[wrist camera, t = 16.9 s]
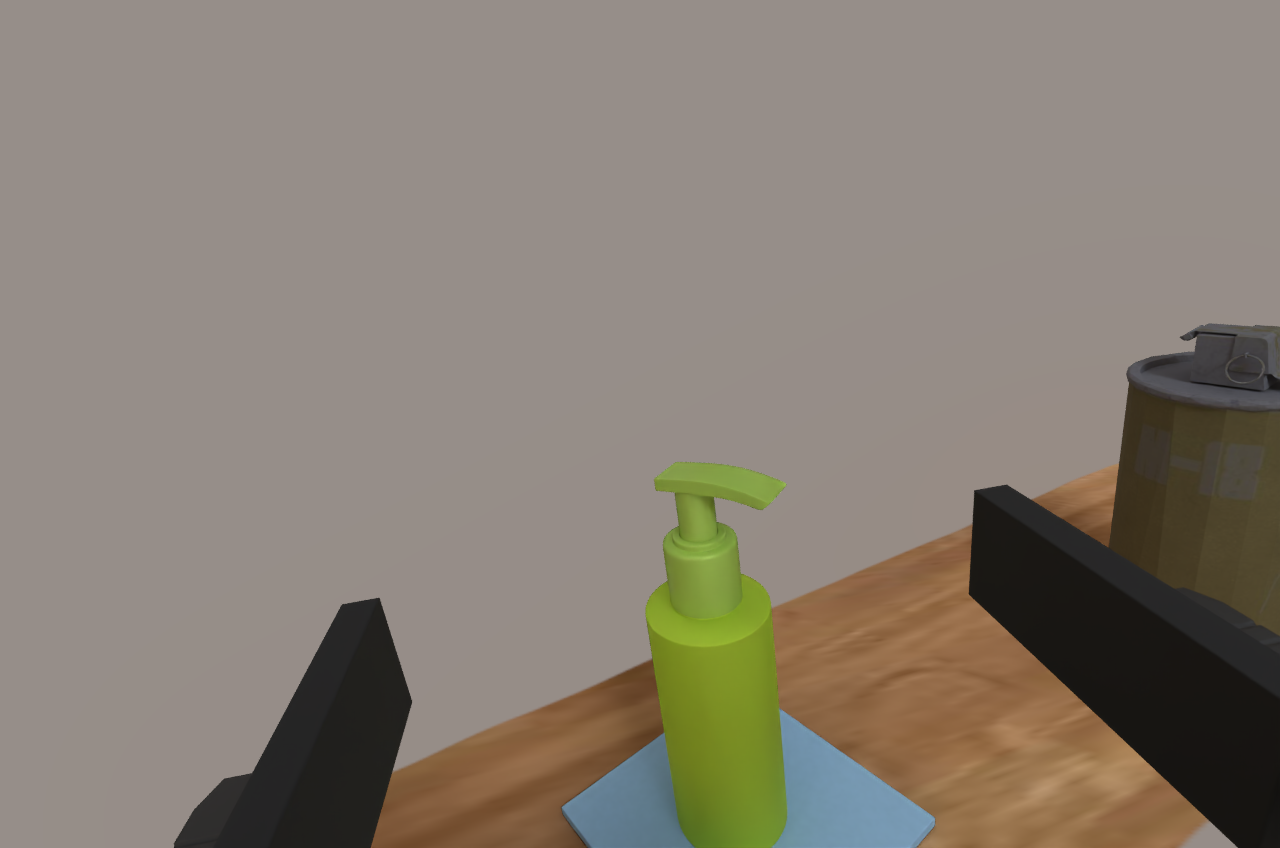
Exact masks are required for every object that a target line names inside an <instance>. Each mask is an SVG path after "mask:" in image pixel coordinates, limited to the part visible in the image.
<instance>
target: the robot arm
mask: <svg viewBox="0 0 1280 848" xmlns="http://www.w3.org/2000/svg"><path fill="white" fill-rule="evenodd" d="M969 595H970V596H971V597H972V598H973V599H974V600H975V601H976V602H978V603H979V604H980V605H981V606H982V607H983V608H984V609H985V610H986V611H987V612H988V613H989V614H990V615H991V616H992V617H993V618H995V619H996V620H997V621H998V622H999V623H1000V624H1001V625H1002V626H1003V627H1004V628H1005V629H1006V630H1007V631H1008V632H1009V633H1010V634H1012V635H1013V636H1014V637H1015V638H1016V639H1017V640H1018V641H1019V642H1020V643H1021V644H1022V645H1023V646H1024V647H1025V648H1026V649H1027V650H1029V651H1030V652H1031V653H1032V654H1033V655H1034V656H1035V657H1036V658H1037V659H1038V660H1039V661H1040V662H1041V663H1042V664H1043V665H1044V666H1046V667H1047V668H1048V669H1049V670H1050V671H1051V672H1052V673H1053V674H1054V675H1055V676H1056V677H1057V678H1058V679H1059V680H1060V681H1061V682H1062V683H1064V684H1065V685H1066V686H1067V687H1068V688H1069V689H1070V690H1071V691H1072V692H1073V693H1074V694H1075V695H1076V696H1077V697H1078V698H1079V699H1081V700H1082V701H1083V702H1084V703H1085V704H1086V705H1087V706H1088V707H1089V708H1090V709H1091V710H1092V711H1093V712H1094V713H1095V714H1096V715H1098V716H1099V717H1100V718H1101V719H1102V720H1103V721H1104V722H1105V723H1106V724H1107V725H1108V726H1109V727H1110V728H1111V729H1112V730H1113V731H1115V732H1116V733H1117V734H1118V735H1119V736H1120V737H1121V738H1122V739H1123V740H1124V741H1125V742H1126V743H1127V744H1128V745H1129V746H1130V747H1132V748H1133V749H1134V750H1135V751H1136V752H1137V753H1138V754H1139V755H1140V756H1141V757H1142V758H1143V759H1144V760H1145V761H1146V762H1147V763H1149V764H1150V765H1151V766H1152V767H1153V768H1154V769H1155V770H1156V771H1157V772H1158V773H1159V774H1160V775H1161V776H1162V777H1163V778H1164V779H1166V780H1167V781H1168V782H1169V783H1170V784H1171V785H1172V786H1173V787H1174V788H1175V789H1176V790H1177V791H1178V792H1179V793H1180V794H1181V795H1183V796H1184V797H1185V798H1186V799H1187V800H1188V801H1189V802H1190V803H1191V804H1192V805H1193V806H1194V807H1195V808H1196V809H1197V810H1198V811H1199V812H1201V813H1202V814H1203V815H1204V816H1205V817H1206V818H1207V819H1208V820H1209V821H1210V822H1211V823H1212V824H1213V825H1215V827H1217V828H1218V829H1219V830H1220V831H1221V832H1222V833H1223V834H1224V835H1225V836H1226V837H1227V838H1228V839H1229V840H1230V841H1231V842H1233V843H1234V844H1235V845H1236V846H1237V847H1238V848H1280V636H1279V635H1277V634H1275V633H1274V632H1272V631H1270V630H1269V629H1267V628H1265V627H1264V626H1262V625H1258V626H1257V625H1256V624H1255V622H1254V621H1253V620H1252V619H1250V618H1248V617H1247V616H1245V615H1243V614H1242V613H1240V612H1238V611H1237V610H1235V609H1233V608H1232V607H1230V606H1228V605H1227V604H1225V603H1223V602H1221V601H1219V600H1216V599H1213V598H1211V597H1208V596H1206V595H1203V594H1200V593H1198V592H1195V591H1192V590H1190V589H1187V588H1184V587H1182V588H1177V589H1174V588H1172V587H1171V586H1169V585H1168V584H1166V583H1164V582H1163V581H1161V580H1159V579H1158V578H1156V577H1155V576H1153V575H1151V574H1150V573H1148V572H1147V571H1145V570H1143V569H1142V568H1140V567H1138V566H1137V565H1135V564H1134V563H1132V562H1130V561H1129V560H1127V559H1126V558H1124V557H1122V556H1121V555H1119V554H1118V553H1116V552H1114V551H1113V550H1111V549H1109V548H1108V547H1106V546H1105V545H1103V544H1101V543H1100V542H1098V541H1097V540H1095V539H1093V538H1092V537H1090V536H1089V535H1087V534H1085V533H1084V532H1082V531H1080V530H1079V529H1077V528H1076V527H1074V526H1072V525H1071V524H1069V523H1068V522H1066V521H1064V520H1063V519H1061V518H1060V517H1058V516H1056V515H1055V514H1053V513H1051V512H1050V511H1048V510H1047V509H1045V508H1043V507H1042V506H1040V505H1039V504H1037V503H1035V502H1034V501H1032V500H1031V499H1029V498H1027V497H1026V496H1024V495H1022V494H1021V493H1019V492H1018V491H1016V490H1014V489H1013V488H1011V487H1009V486H1008V485H1002V486H997V487H991V488H986V489H980V490H975V491H974V508H973V527H972V545H971V563H970V582H969ZM411 704H412V700H411V696H410V693H409V690H408V687H407V684H406V681H405V677H404V674H403V671H402V668H401V665H400V662H399V658H398V655H397V652H396V649H395V646H394V643H393V639H392V636H391V633H390V630H389V627H388V624H387V620H386V617H385V614H384V611H383V608H382V605H381V602H380V598H376V599H370V600H364V601H359V602H353V603H348V604H342V606H341V607H340V609H339V611H338V613H337V615H336V617H335V619H334V620H333V622H332V624H331V626H330V628H329V630H328V632H327V634H326V635H325V637H324V639H323V641H322V643H321V645H320V647H319V649H318V651H317V652H316V654H315V656H314V658H313V660H312V662H311V664H310V666H309V667H308V669H307V671H306V673H305V675H304V677H303V679H302V681H301V683H300V684H299V686H298V688H297V690H296V692H295V694H294V696H293V698H292V699H291V701H290V703H289V705H288V707H287V709H286V711H285V713H284V715H283V717H282V718H281V720H280V722H279V724H278V726H277V728H276V730H275V732H274V733H273V735H272V737H271V739H270V741H269V743H268V745H267V747H266V748H265V750H264V752H263V754H262V756H261V758H260V760H259V762H258V764H257V765H256V767H255V769H254V771H253V773H251V774H246V775H241V776H236V777H231V778H226V779H224V780H223V781H222V782H221V783H220V784H219V785H218V786H217V787H216V788H215V789H214V790H213V791H212V792H211V793H210V794H209V795H208V796H207V797H206V798H205V799H204V800H203V801H202V802H201V803H200V804H199V805H198V806H197V808H195V809H194V811H193V812H192V814H191V816H190V818H189V819H188V821H187V822H186V824H185V826H184V828H183V829H182V831H181V833H180V834H179V836H178V838H177V839H176V841H175V843H174V848H371V844H372V841H373V837H374V834H375V830H376V827H377V823H378V820H379V816H380V813H381V809H382V806H383V802H384V799H385V795H386V792H387V788H388V785H389V781H390V778H391V774H392V771H393V767H394V764H395V760H396V757H397V753H398V750H399V746H400V743H401V739H402V736H403V732H404V729H405V725H406V721H407V718H408V714H409V711H410V708H411Z"/></svg>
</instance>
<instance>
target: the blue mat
mask: <svg viewBox="0 0 1280 848" xmlns="http://www.w3.org/2000/svg"><path fill="white" fill-rule="evenodd" d="M779 711H780V724H781V736H782V749H783V761H784V774H785V786H786V799H787V821H786V825H785V828H784V831H783V833H782V835H781V836H780V838H779V839H778V841H777V842H776V843H775V844H774V845H773V846H772V847H771V848H916V847H917V846H918V845H919V844H920V842H921V841H922V840H923V839H924V838H925V837H926V835H927V834H928V833H929V832H930V831H931V830H932V828H933V827H934V826H935V818H934V817H933V816H932V815H930V814H929V813H928V812H926V811H925V810H923V809H922V808H920V807H919V806H918V805H916V804H915V803H913V802H912V801H910V800H909V799H908V798H906V797H905V796H903V795H902V794H900V793H899V792H898V791H896V790H895V789H893V788H892V787H891V786H889V785H888V784H886V783H885V782H883V781H882V780H881V779H879V778H878V777H876V776H875V775H873V774H872V773H871V772H869V771H868V770H866V769H865V768H864V767H862V766H861V765H859V764H858V763H856V762H855V761H854V760H852V759H851V758H849V757H848V756H846V755H845V754H844V753H842V752H841V751H839V750H838V749H837V748H835V747H834V746H832V745H831V744H829V743H828V742H827V741H825V740H824V739H822V738H821V737H819V736H818V735H817V734H815V733H814V732H812V731H811V730H809V729H808V728H807V727H805V726H804V725H802V724H801V723H800V722H798V721H797V720H795V719H794V718H792V717H791V716H790V715H788V714H787V713H785V712H784V711H782V710H781V709H780V708H779ZM562 813H563V815H564V817H565V818H566V819H567V821H568V822H569V823H570V825H571V826H572V827H573V829H574V830H575V831H576V833H577V834H578V835H579V837H580V838H581V839H582V841H583V842H584V843H585V845H586V846H587V847H588V848H696V847H694V846H693V845H692V844H691V843H690V842H689V840H688V839H687V838H686V836H685V835H684V833H683V831H682V829H681V827H680V824H679V821H678V816H677V810H676V803H675V797H674V791H673V784H672V778H671V772H670V766H669V759H668V753H667V747H666V740H665V734H664V733H663V734H662V735H660V736H659V737H657V738H656V739H655V740H653V741H652V742H651V743H649V744H648V745H646V746H645V747H644V748H642V749H641V750H640V751H638V752H637V753H635V754H634V755H633V756H631V757H630V758H629V759H627V760H626V761H624V762H623V763H622V764H620V765H619V766H617V767H616V768H615V769H613V770H612V771H611V772H609V773H608V774H606V775H605V776H604V777H602V778H601V779H600V780H598V781H597V782H595V783H594V784H593V785H591V786H590V787H589V788H587V789H586V790H584V791H583V792H582V793H580V794H579V795H577V796H576V797H575V798H573V799H572V800H571V801H569V802H568V803H566V804H565V805H564V806H562Z"/></svg>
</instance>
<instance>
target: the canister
mask: <svg viewBox="0 0 1280 848" xmlns="http://www.w3.org/2000/svg"><path fill="white" fill-rule="evenodd" d="M1196 336H1197V340H1196V346H1195V352H1184V353H1176V354H1169V355H1161V356H1153V357H1149V358H1146V359H1144V360H1141V361H1138V362H1136V363H1134V364H1132V365H1131V366H1130V367H1129V368H1128V370H1127V379H1128V381H1129V388H1128V396H1127V405H1126V412H1125V421H1124V429H1123V437H1122V446H1121V454H1120V461H1119V469H1118V477H1117V486H1116V494H1115V502H1114V510H1113V518H1112V526H1111V535H1110V543H1109V549H1111V550H1113V551H1114V552H1116V553H1118V554H1119V555H1121V556H1122V557H1124V558H1126V559H1127V560H1129V561H1130V562H1132V563H1134V564H1135V565H1137V566H1138V567H1140V568H1142V569H1143V570H1145V571H1147V572H1148V573H1150V574H1151V575H1153V576H1155V577H1156V578H1158V579H1159V580H1161V581H1163V582H1164V583H1166V584H1168V585H1169V586H1171V587H1172V588H1174V589H1177V588H1182V587H1184V588H1187V589H1190V590H1192V591H1195V592H1198V593H1200V594H1203V595H1206V596H1208V597H1211V598H1213V599H1216V600H1219V601H1221V602H1223V603H1225V604H1227V605H1228V606H1230V607H1232V608H1233V609H1235V610H1237V611H1238V612H1240V613H1242V614H1243V615H1245V616H1247V617H1248V618H1250V619H1252V620H1253V621H1254V622H1255V624H1256V625H1257V626H1258V625H1262V626H1264V627H1265V628H1267V629H1269V630H1270V631H1272V632H1274V633H1275V634H1277V635H1279V636H1280V327H1275V326H1260V325H1255V326H1253V327H1251V326H1238V325H1224V324H1207V325H1205V326H1203V325H1201V326H1199V327H1197V328H1195V329H1194V330H1192V331H1190V332H1188V333H1187V334H1185V335H1183V336H1181V337H1180V338H1181V339H1183V340H1187V341H1188V340H1191V339H1193V338H1195V337H1196Z"/></svg>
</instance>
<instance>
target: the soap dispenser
mask: <svg viewBox="0 0 1280 848" xmlns="http://www.w3.org/2000/svg"><path fill="white" fill-rule="evenodd" d="M654 482H655V489H656V491H666V492H675V500H676V507H677V514H678V522H679V526H678V527H676V528H674V529H672V530H671V531H670V532H669V533H668V534H667V535H666V536H665V538H664V541H663V551H664V558H665V565H666V572H667V579H668V581H667V582H665V583H663V584H662V585H661V586H659V587H658V588H657V589H656V590H655V591H654V592H653V593H652V595H651V596H650V598H649V600H648V602H647V605H646V620H647V627H648V633H649V639H650V646H651V651H652V658H653V665H654V671H655V677H656V684H657V690H658V696H659V702H660V709H661V715H662V721H663V728H664V734H665V740H666V747H667V753H668V759H669V766H670V772H671V778H672V784H673V791H674V797H675V803H676V810H677V816H678V821H679V824H680V827H681V829H682V831H683V833H684V835H685V836H686V838H687V839H688V840H689V842H690V843H691V844H692V845H693V846H694V847H696V848H771V847H772V846H773V845H774V844H775V843H776V842H777V841H778V839H779V838H780V836H781V835H782V833H783V831H784V828H785V825H786V821H787V799H786V786H785V774H784V761H783V749H782V736H781V724H780V711H779V699H778V686H777V673H776V661H775V648H774V636H773V623H772V611H771V601H770V597H769V595H768V593H767V591H766V590H765V589H764V587H763V586H762V585H761V584H760V583H758V582H757V581H756V580H754V579H752V578H751V577H748V576H746V575H744V574H741V572H740V562H739V551H738V542H737V536H736V533H735V532H734V530H733V529H731V528H730V527H729V526H727V525H725V524H722V523H719V522H716V513H715V503H714V497H716V498H722V499H727V500H731V501H735V502H738V503H741V504H744V505H747V506H750V507H752V508H755V509H758V510H763V509H764V508H765V507H767V506H768V505H769V504H770V503H771V502H772V501H773V500H774V499H775V498H776V497H777V496H778V494H779V493H780V492H781V491H782V490H783V489H784V488H785V486H786V483H784V482H782V481H780V480H778V479H775V478H773V477H770V476H767V475H764V474H762V473H759V472H755V471H752V470H749V469H745V468H740V467H736V466H729V465H722V464H712V463H694V462H692V463H691V462H675V463H674V464H673V465H671V466H670V467H669V468H668V469H666V470H665V471H664V472H662V473H661V474H660V475H659V476H657V477H656V478H655V479H654Z"/></svg>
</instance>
